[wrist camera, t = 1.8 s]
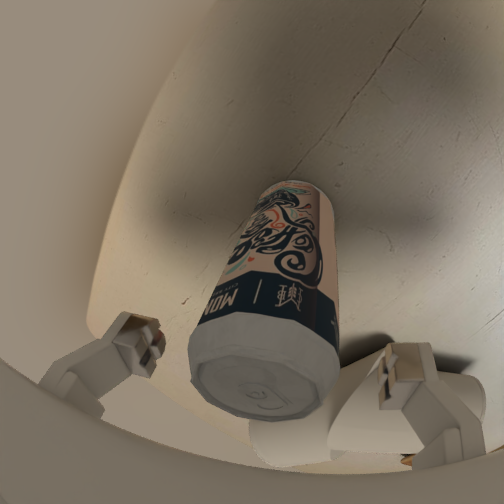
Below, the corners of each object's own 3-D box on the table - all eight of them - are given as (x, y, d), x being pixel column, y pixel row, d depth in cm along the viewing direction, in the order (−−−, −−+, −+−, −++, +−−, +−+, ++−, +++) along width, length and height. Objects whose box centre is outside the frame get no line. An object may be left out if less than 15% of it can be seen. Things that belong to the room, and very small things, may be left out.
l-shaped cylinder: (430, 286, 16) (240, 384, 27) (477, 435, 8) (233, 483, 19) (474, 351, 23) (340, 413, 34) (496, 432, 16) (344, 481, 26)
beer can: (308, 162, 15) (283, 320, 6) (347, 228, 17) (362, 414, 7) (241, 201, 18) (146, 360, 8) (283, 259, 19) (240, 430, 9)
